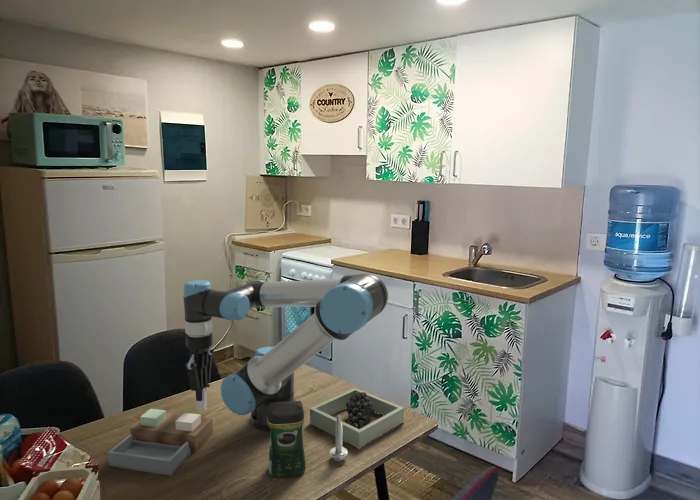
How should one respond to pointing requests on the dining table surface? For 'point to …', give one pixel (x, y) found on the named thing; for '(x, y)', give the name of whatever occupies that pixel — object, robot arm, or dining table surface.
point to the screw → (338, 442)
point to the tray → (148, 456)
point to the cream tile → (188, 422)
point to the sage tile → (153, 417)
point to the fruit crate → (350, 434)
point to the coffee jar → (286, 439)
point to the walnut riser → (173, 433)
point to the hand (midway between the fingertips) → (201, 408)
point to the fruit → (359, 410)
